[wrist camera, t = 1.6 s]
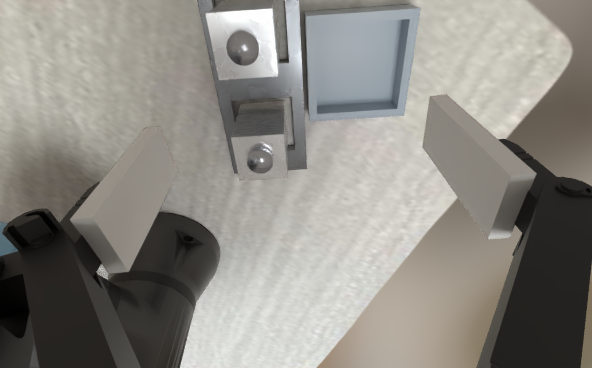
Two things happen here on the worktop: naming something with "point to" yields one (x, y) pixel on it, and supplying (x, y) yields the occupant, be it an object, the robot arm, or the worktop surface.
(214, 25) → the knobbed metal block
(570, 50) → the worktop surface
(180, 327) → the robot arm
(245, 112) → the grey knobbed block
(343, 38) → the tray
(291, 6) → the grey slotted plate
